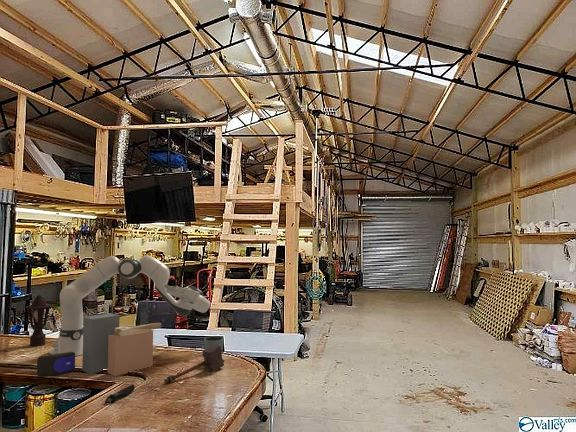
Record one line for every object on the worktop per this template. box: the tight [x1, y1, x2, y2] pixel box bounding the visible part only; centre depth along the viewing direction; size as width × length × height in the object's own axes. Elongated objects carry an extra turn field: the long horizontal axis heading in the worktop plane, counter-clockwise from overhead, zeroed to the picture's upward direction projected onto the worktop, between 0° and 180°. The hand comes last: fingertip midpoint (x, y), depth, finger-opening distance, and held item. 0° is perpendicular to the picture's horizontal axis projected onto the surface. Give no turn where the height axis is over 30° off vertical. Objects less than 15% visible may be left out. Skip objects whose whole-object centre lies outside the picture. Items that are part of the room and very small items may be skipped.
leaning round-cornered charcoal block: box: [36, 352, 76, 378], centre depth 207 cm, size 16×5×9 cm, turn 124°
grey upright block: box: [81, 312, 121, 375], centre depth 215 cm, size 9×14×26 cm, turn 140°
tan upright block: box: [107, 329, 154, 377], centre depth 214 cm, size 7×20×18 cm, turn 140°
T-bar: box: [115, 322, 162, 336], centre depth 218 cm, size 7×23×3 cm, turn 140°
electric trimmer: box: [104, 384, 136, 404], centre depth 177 cm, size 4×16×3 cm, turn 163°
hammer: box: [163, 345, 225, 384], centre depth 205 cm, size 7×33×10 cm, turn 141°
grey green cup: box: [203, 335, 224, 354], centre depth 228 cm, size 10×10×12 cm
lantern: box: [25, 294, 53, 347], centre depth 263 cm, size 15×15×30 cm
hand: (170, 286), depth 237 cm, fingers open, 8 cm apart
